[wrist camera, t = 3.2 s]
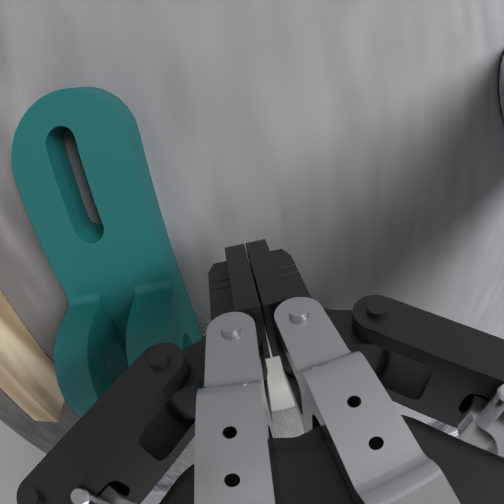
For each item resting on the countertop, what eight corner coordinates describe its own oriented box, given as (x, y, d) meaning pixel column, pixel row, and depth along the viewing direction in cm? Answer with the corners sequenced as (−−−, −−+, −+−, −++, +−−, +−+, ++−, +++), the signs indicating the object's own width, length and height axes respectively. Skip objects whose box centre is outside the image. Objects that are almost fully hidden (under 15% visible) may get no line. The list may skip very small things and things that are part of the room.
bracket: (204, 338, 22) (208, 436, 15) (120, 350, 21) (104, 440, 15) (126, 69, 12) (53, 61, 5) (20, 113, 12) (-78, 151, 5)
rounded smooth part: (307, 314, 21) (322, 350, 18) (311, 366, 25) (322, 399, 22) (219, 334, 21) (222, 372, 18) (238, 383, 25) (242, 417, 22)
